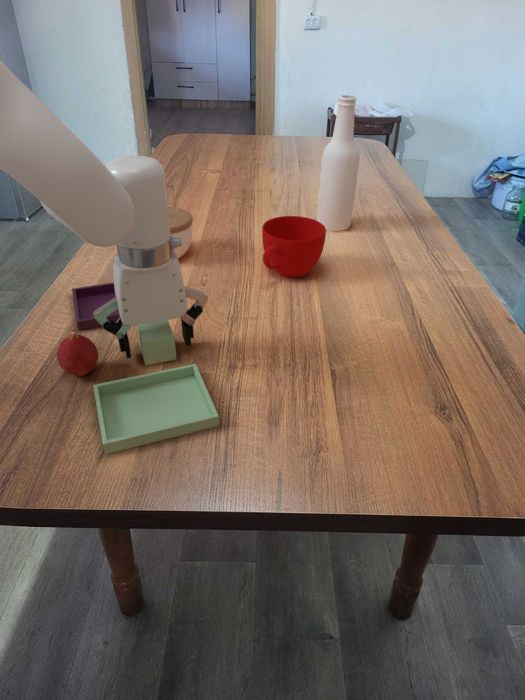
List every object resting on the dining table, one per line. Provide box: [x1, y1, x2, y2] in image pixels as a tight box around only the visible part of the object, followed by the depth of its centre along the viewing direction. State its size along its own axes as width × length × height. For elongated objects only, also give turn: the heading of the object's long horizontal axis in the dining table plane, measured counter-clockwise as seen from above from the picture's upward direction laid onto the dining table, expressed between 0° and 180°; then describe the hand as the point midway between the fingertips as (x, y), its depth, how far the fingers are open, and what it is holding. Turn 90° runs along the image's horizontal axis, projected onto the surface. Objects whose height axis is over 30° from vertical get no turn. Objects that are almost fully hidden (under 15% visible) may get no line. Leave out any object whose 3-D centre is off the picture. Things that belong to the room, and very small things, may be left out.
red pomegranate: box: [56, 331, 99, 377], centre depth 74 cm, size 6×6×8 cm
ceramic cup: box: [261, 215, 327, 279], centre depth 101 cm, size 13×17×10 cm
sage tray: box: [92, 363, 220, 455], centre depth 69 cm, size 15×12×2 cm
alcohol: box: [315, 94, 360, 232], centre depth 117 cm, size 9×9×30 cm
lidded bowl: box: [168, 206, 194, 260], centre depth 107 cm, size 13×13×11 cm
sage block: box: [136, 320, 177, 366], centre depth 79 cm, size 5×5×5 cm
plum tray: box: [71, 281, 120, 332], centre depth 91 cm, size 15×12×2 cm
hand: (158, 347), depth 80 cm, fingers open, 9 cm apart
